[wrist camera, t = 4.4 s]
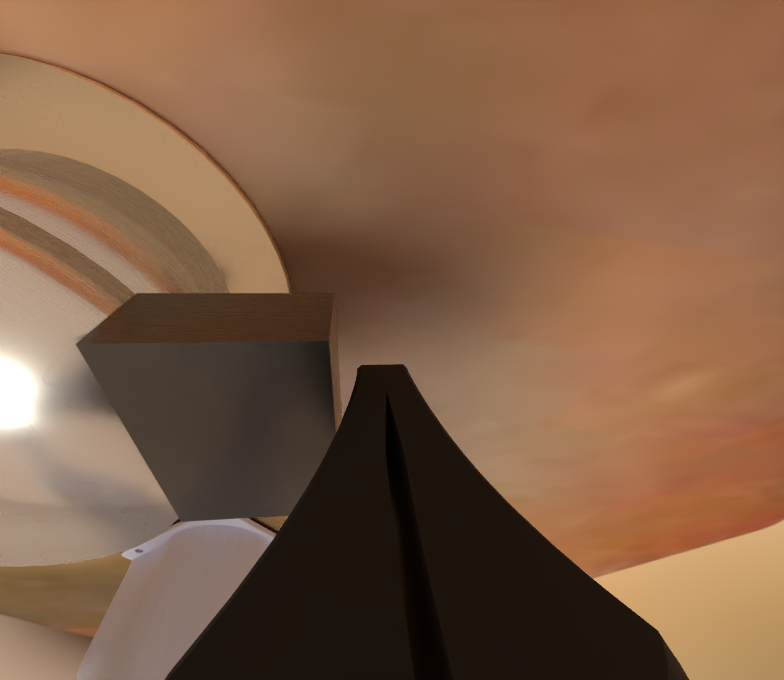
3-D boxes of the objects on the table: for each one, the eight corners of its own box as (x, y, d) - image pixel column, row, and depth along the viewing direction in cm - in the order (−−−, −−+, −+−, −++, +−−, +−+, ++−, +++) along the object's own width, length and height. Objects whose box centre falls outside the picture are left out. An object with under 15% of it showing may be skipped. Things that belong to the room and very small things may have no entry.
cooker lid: (-103, 526, 11) (-198, 612, 10) (-720, 120, 5) (-1431, 129, 3) (346, 499, 13) (345, 570, 11) (326, 159, 6) (313, 182, 4)
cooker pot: (7, 429, 17) (-120, 544, 12) (-346, 31, 9) (-1131, -56, 4) (309, 418, 18) (293, 519, 14) (261, 68, 10) (182, 35, 5)
